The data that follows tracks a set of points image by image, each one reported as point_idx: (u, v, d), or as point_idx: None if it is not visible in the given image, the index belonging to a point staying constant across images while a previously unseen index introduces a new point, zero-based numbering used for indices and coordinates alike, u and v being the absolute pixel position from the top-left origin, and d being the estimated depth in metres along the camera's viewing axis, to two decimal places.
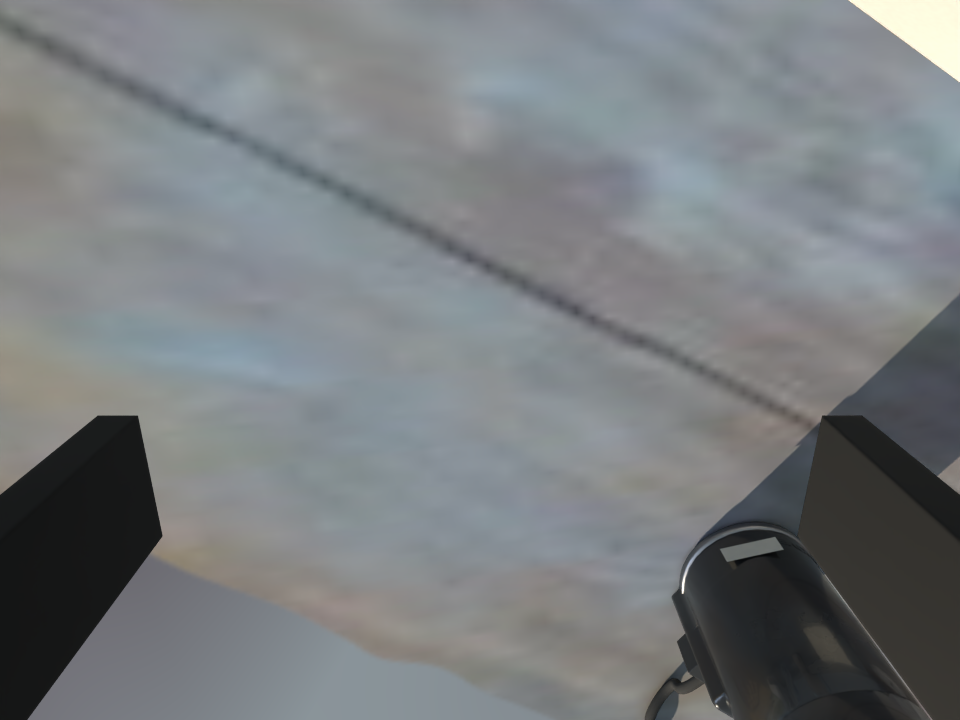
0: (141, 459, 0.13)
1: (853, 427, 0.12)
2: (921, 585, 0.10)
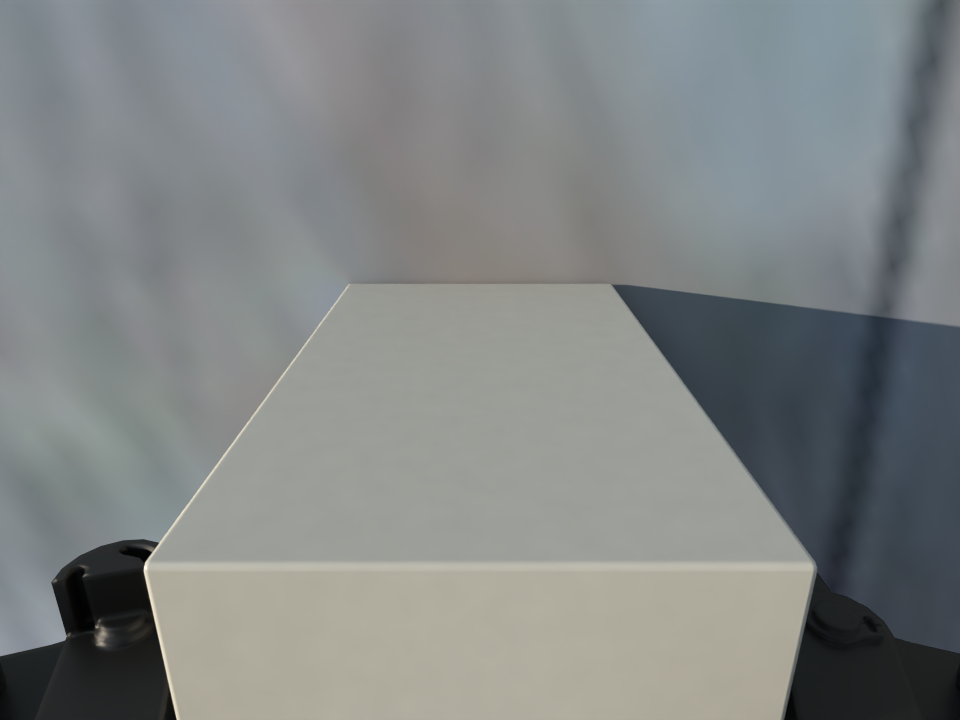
0: None
1: None
2: None
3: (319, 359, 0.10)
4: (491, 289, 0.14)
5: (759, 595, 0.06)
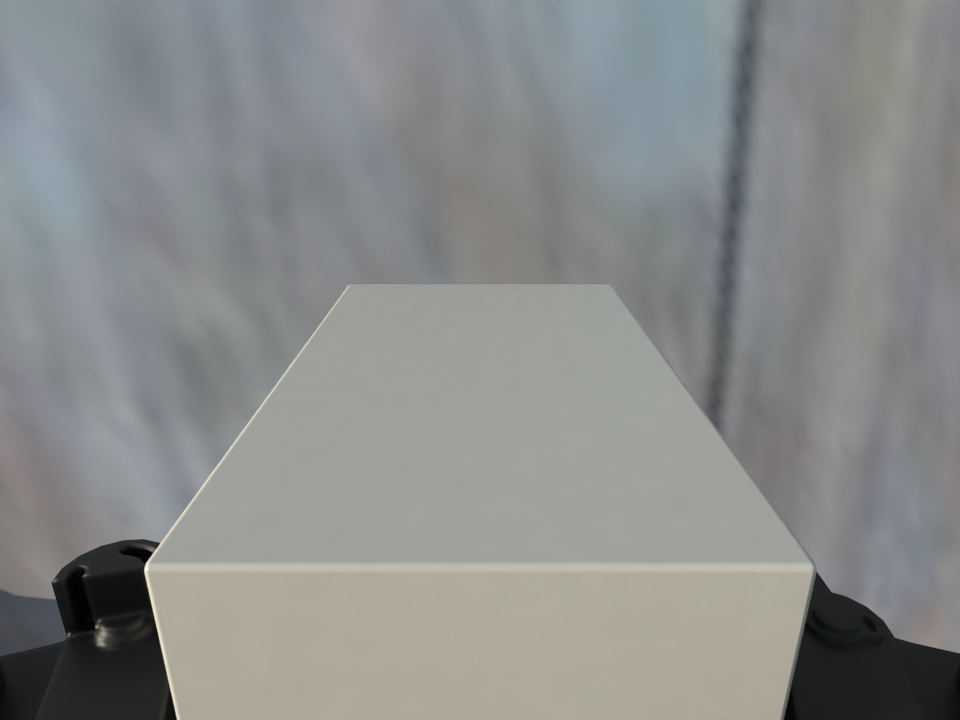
0: None
1: None
2: None
3: (319, 360, 0.10)
4: (491, 290, 0.14)
5: (758, 596, 0.06)
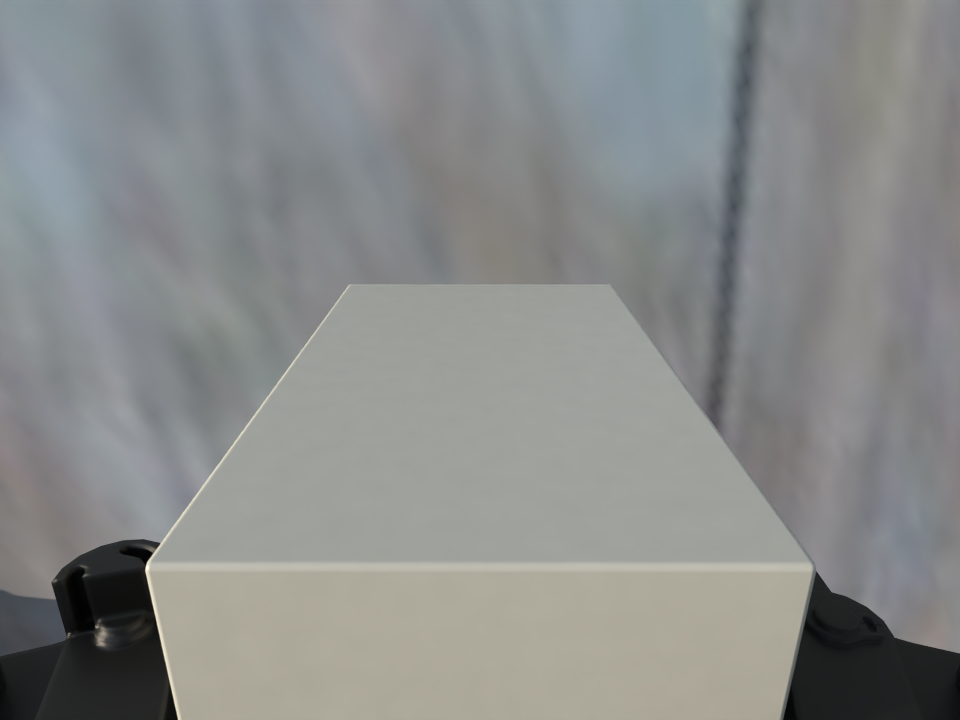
0: None
1: None
2: None
3: (320, 360, 0.10)
4: (491, 290, 0.14)
5: (758, 595, 0.06)
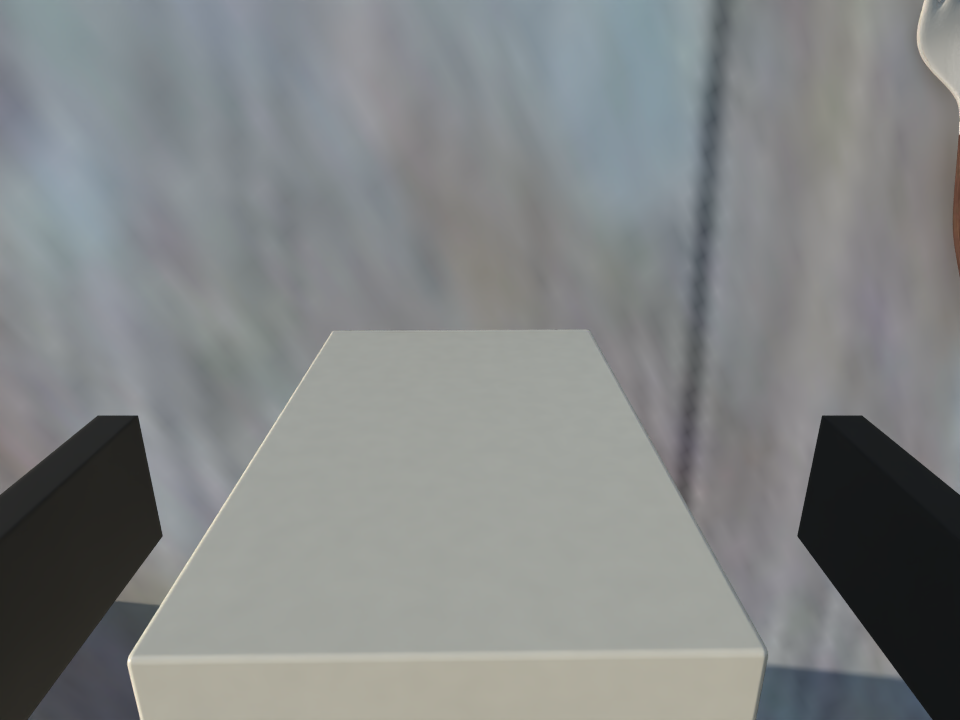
0: (142, 459, 0.13)
1: (853, 427, 0.12)
2: (921, 585, 0.10)
3: (301, 420, 0.10)
4: (472, 336, 0.14)
5: (714, 680, 0.06)
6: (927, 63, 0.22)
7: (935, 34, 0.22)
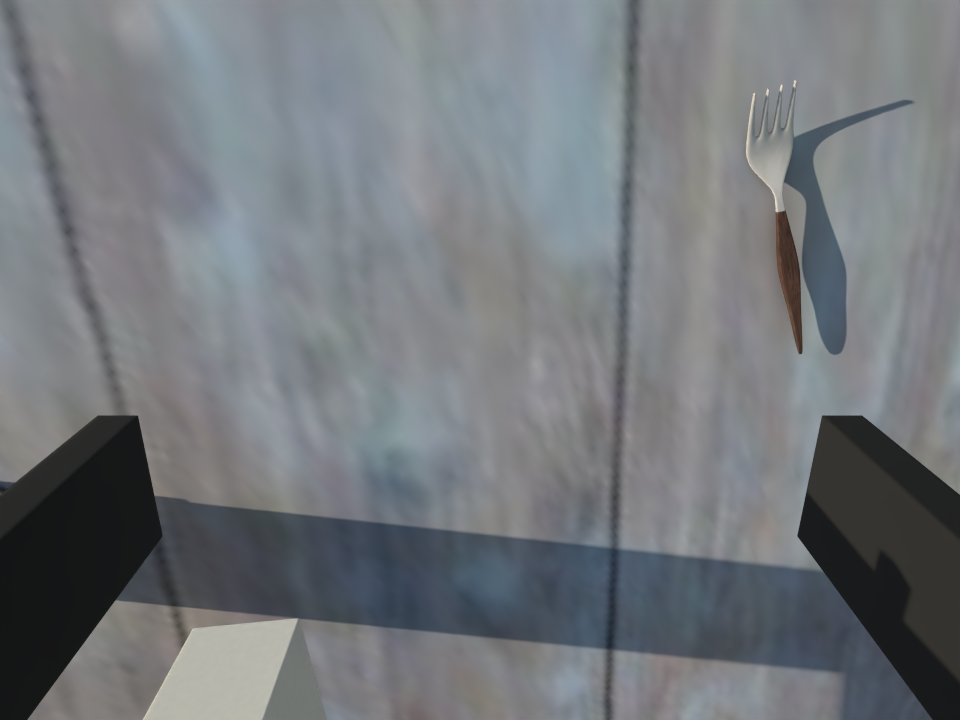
0: (141, 459, 0.13)
1: (853, 427, 0.12)
2: (921, 585, 0.10)
3: (161, 701, 0.30)
4: (246, 629, 0.34)
5: None
6: (753, 170, 0.37)
7: (756, 153, 0.37)
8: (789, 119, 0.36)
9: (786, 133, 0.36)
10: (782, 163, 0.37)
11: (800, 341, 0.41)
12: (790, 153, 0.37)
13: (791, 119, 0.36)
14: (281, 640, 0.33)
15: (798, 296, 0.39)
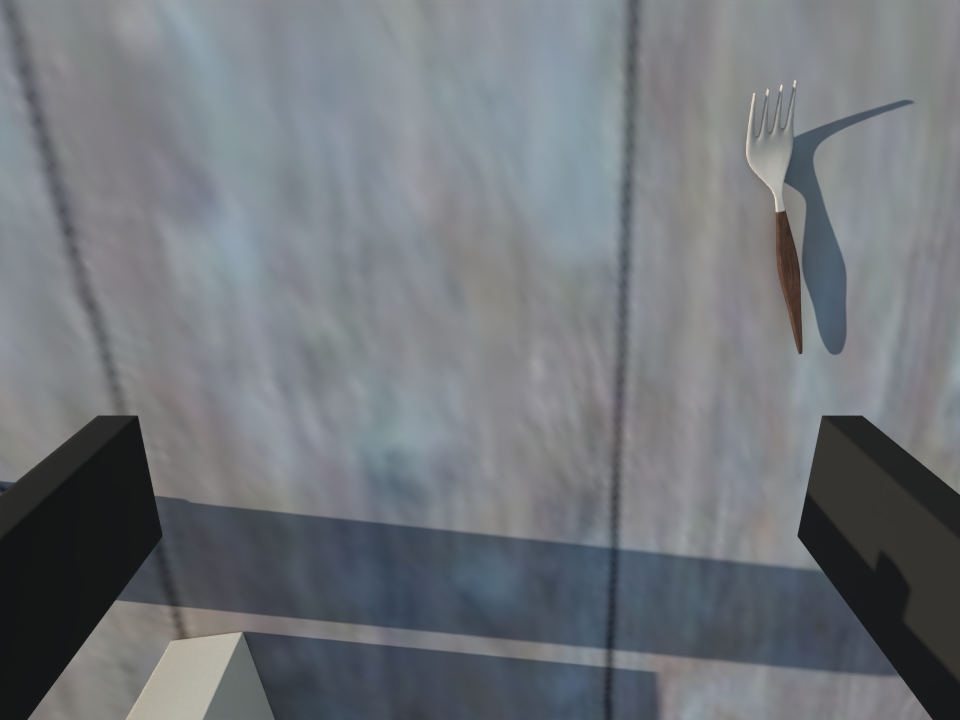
0: (142, 459, 0.13)
1: (853, 427, 0.12)
2: (921, 585, 0.10)
3: (148, 689, 0.46)
4: (207, 640, 0.49)
5: None
6: (753, 170, 0.37)
7: (756, 153, 0.37)
8: (789, 119, 0.36)
9: (786, 133, 0.36)
10: (782, 163, 0.37)
11: (800, 341, 0.41)
12: (790, 153, 0.37)
13: (791, 119, 0.36)
14: (229, 647, 0.48)
15: (799, 296, 0.39)
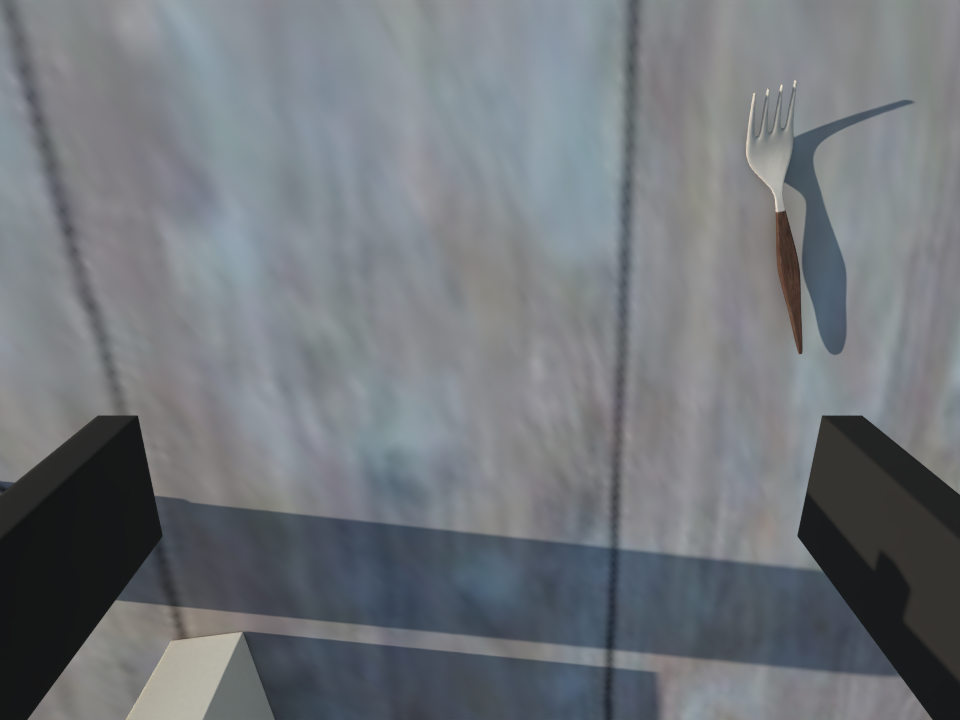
0: (142, 459, 0.13)
1: (853, 427, 0.12)
2: (921, 585, 0.10)
3: (148, 689, 0.46)
4: (207, 640, 0.49)
5: None
6: (753, 170, 0.37)
7: (756, 153, 0.37)
8: (789, 119, 0.36)
9: (786, 133, 0.36)
10: (782, 163, 0.37)
11: (800, 341, 0.41)
12: (790, 153, 0.37)
13: (791, 119, 0.36)
14: (229, 647, 0.48)
15: (799, 296, 0.39)
